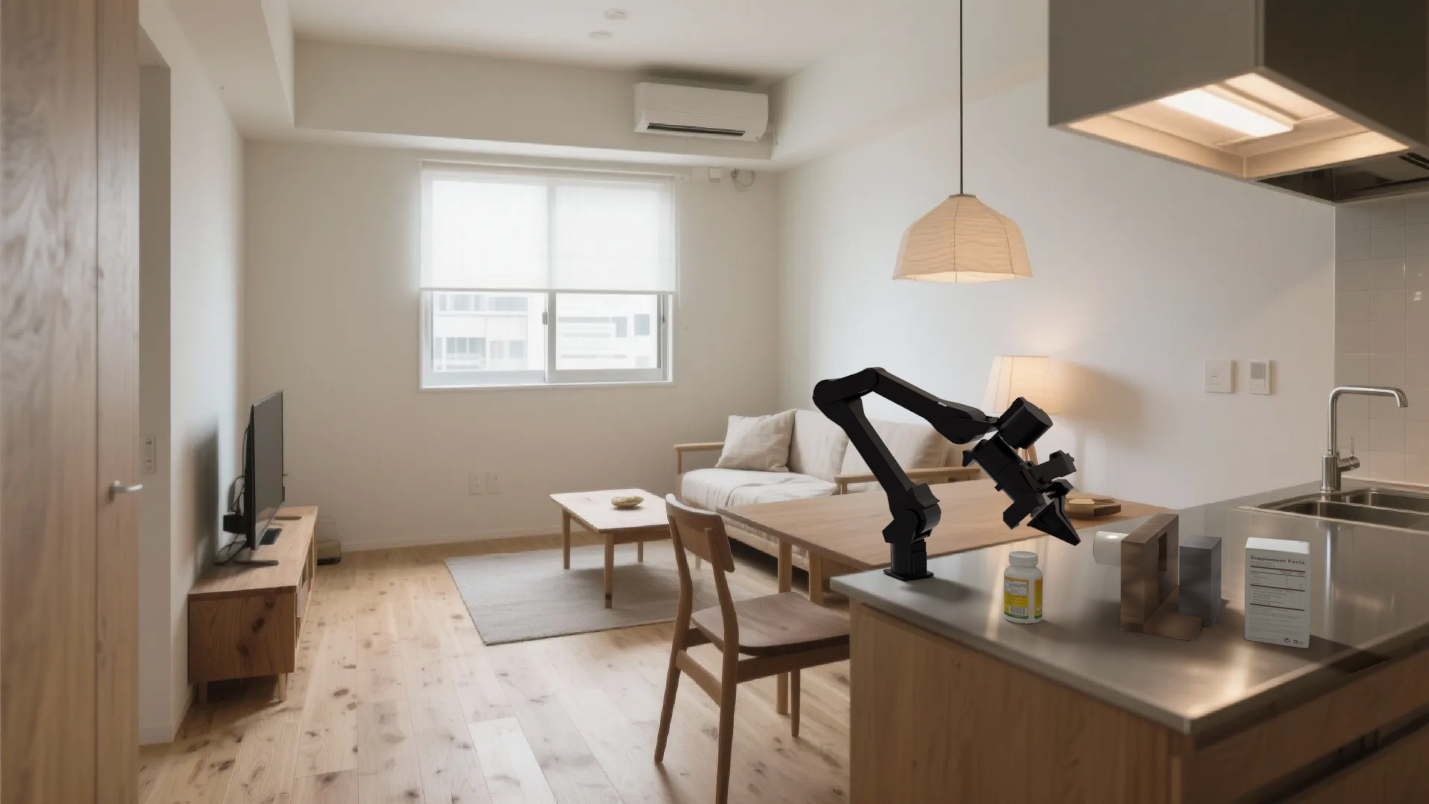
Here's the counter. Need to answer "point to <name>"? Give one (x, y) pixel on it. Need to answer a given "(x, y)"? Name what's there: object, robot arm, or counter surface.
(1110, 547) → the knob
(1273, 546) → the supplement box
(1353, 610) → the counter surface
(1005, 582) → the supplement bottle
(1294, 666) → the counter surface
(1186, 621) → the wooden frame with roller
